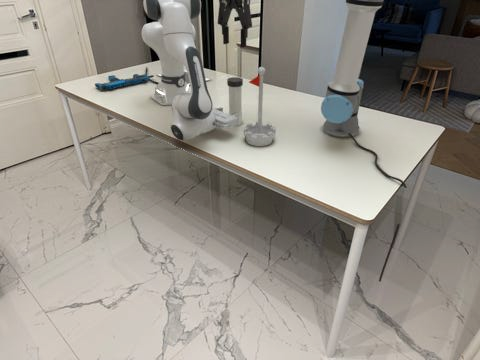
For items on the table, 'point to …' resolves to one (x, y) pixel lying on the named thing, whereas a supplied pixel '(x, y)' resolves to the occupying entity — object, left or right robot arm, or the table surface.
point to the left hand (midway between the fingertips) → (229, 111)
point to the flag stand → (259, 119)
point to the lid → (235, 82)
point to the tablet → (187, 77)
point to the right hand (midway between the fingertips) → (234, 45)
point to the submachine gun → (122, 81)
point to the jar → (235, 102)
